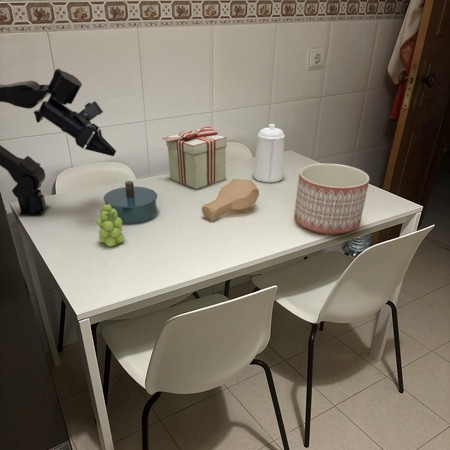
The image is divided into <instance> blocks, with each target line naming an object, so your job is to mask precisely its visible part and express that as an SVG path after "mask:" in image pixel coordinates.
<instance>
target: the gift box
mask: <svg viewBox="0 0 450 450" xmlns="http://www.w3.org/2000/svg"><path fill="white" fill-rule="evenodd" d="M227 139H228V138H227V137H226V136H223V135H220V134H218V131H216V130H215V129H214V128H213V127H211V126H204V127H202V128H200V129H193V130H187V131H182V132H180V133H177V134H173V135H169V136H166V137H162V140H164V141H166V142H165V143H166V144H165V145H166V147H167V152H168V167H169V168H168V169H169V179H170V180H172V181H175V182H177V183H179V184H182V185H184V186H187V187H189V188H191V189H194V190H198V189H200V188H201V189H202V188H204V187H207V186H210V185H213V184H216V183H219V182H222V181H224V180H225V181H226V147H228V140H227Z"/></svg>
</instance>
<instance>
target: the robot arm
mask: <svg viewBox="0 0 450 450" xmlns="http://www.w3.org/2000/svg"><path fill="white" fill-rule="evenodd" d="M82 86H83V83H82V82H81V80H80V79H79V78H78V77H76V76H75V75H73V74H71V73H68V72H67V71H64V70H62V69H60V68H56V69H55V70H54V71H53V75H52V78H51V80H50V82H49V84H39V83H38V81H35V80H26V81H25V80H24V81H19V82H14V83H8V84H0V103H7V104H10V105H12V106H15V107H17V108H18V107H19V108H23V109H28V110H29V109H33V108H35V107H37V106H39V104H41V105H40V106H39V109H36V110H34V111H33V115H34V117H35V122H36V123H37V124H39V123H40V122H42V121H43V120H44V119H45V120H47V121H48V122H50V123H51V124H53V125H54V126H55V127H57V128H59V129H60V131H62V132H63V133H66V134H68V135H69V136H70V137H72V138H73V139H74V140H75V144H76V146H78V147H80V148H81V149H84V150H87V151H91V152H94V153H98V154H102V155H107V156H110V157H115V155H116V152H117V150H116V149H115V147H113V146H112V145H111V144H110V143H109V142H108V141H107V140H106V139H105V138H104V137H103V133H102V129H101V128H100V126H98V125H97V124H95V123H94V122H93V123H92V120H93V119H94V118H96V117H97V116H99V115H102V113H104V111H103V109H102V108H101V107H100V105H99V103H98V102H97V101H96V100H94V101H92V102H87V103H86V104H85V105H84V108H83V109H82V110H81V111H79V112H77V111H75V110H72V109H70V108H69V107H67V104H69V105H72V104H73V103H74V101H75V98H76V97H77V95H78V93H79V91H80V89H81V88H82ZM47 97H48V99H47V100H45V98H47ZM0 167H1V168H3V169H5V170H6V171H7V172H8V174H9V175H10V177H11V178H12V180H13V181H14V182H15V183H16V185H15V186H14V187H13V188H12V189H11V193H12V194H13V195H14V196H15V198H17V202H18V206H19V210H20V211H19V213H18V215H19V216H41V215H43V213H44V212H45V210H46V209H47V208H48V206H47V203H46V199H45V195H44V194H43V193H42V190H41V189H39V188H41V187H42V183H43V182H44V181H45V179H46V172H45V169H44V167H42V166H41V163H39V162H37V161H35V160H34V159H33V158H32V157H31V156H29V155H26V156H25V157H24V158H23V157H18V156H16V155H15V154H14V153H12V152H11V151H9V150H8V149H7V148H6V147H4V146H2V145H1V144H0Z"/></svg>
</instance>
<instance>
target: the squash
mask: <svg viewBox="0 0 450 450" xmlns="http://www.w3.org/2000/svg"><path fill="white" fill-rule="evenodd" d="M259 196H260V190H259V188H258V187H257V185H256V184H255V183H254V181H253V180H251V179H243V178H242V179H241V178H240V179H238V178H237V179H236V178H234V179H232V180H230V181H229V182H228V183H227V184H224V185H223V186H222V187H220V189H219V191H218V195H217V197H216V198H215V199H213V200H212V201H210V202H208V203H204V204H203V205H202V207H201V212H202V214H203V216H204V217H205V218H206V219H207V220H209V221H215V220H216V219H217V220H218V218H220V217H221V216H223V215H226V214H230V213H232V214H244V213H247V212H248V211H251V209H252V208H253V206H254V205H255V204H256V203H257V201H258V198H259Z"/></svg>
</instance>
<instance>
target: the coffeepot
mask: <svg viewBox="0 0 450 450" xmlns="http://www.w3.org/2000/svg"><path fill="white" fill-rule="evenodd" d="M285 139H286V134H284V131H283V130H282V129H281V128H278V127H276V124H274V123H269V124H268V127H264V128H261V129H260V130H259V132H258V133H257V142H256V149H255V150H256V152H255V157H254V158H255V159H254V165H253V173H252V176H253V178H254V179H255V180H257V182H261V183H277V182H280V181H281V180H282V179H283V178H284V162H285V161H284V160H285V159H284V158H285V157H284V156H285V152H284V151H285Z"/></svg>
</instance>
